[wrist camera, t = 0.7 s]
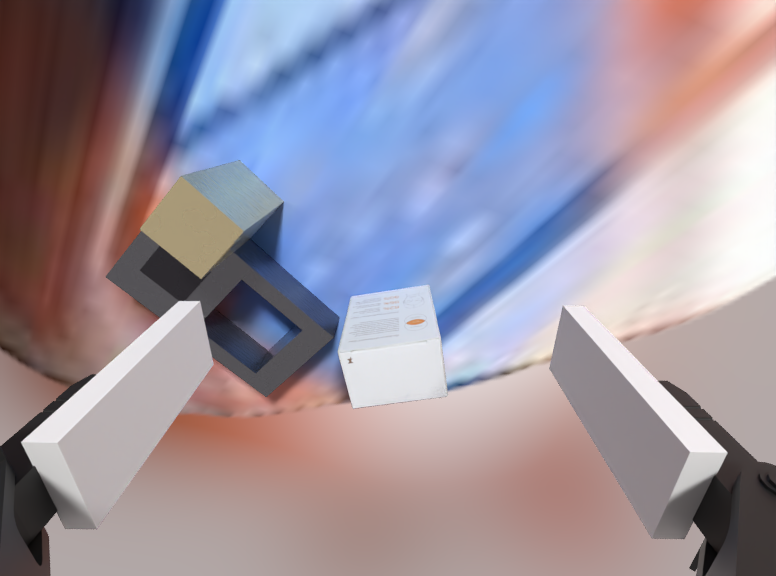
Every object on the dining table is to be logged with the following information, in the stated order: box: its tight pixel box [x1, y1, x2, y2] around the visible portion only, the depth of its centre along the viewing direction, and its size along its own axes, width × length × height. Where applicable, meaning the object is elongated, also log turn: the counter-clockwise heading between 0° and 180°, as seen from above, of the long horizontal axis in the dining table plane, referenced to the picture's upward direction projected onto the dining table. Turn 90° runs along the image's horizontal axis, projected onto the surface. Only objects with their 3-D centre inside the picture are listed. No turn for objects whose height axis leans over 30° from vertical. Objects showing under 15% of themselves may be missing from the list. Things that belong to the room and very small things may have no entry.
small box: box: [338, 285, 448, 409], centre depth 35 cm, size 8×6×10 cm
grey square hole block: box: [106, 231, 339, 397], centre depth 37 cm, size 18×10×4 cm, turn 44°
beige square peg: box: [140, 160, 284, 279], centre depth 31 cm, size 5×5×10 cm
